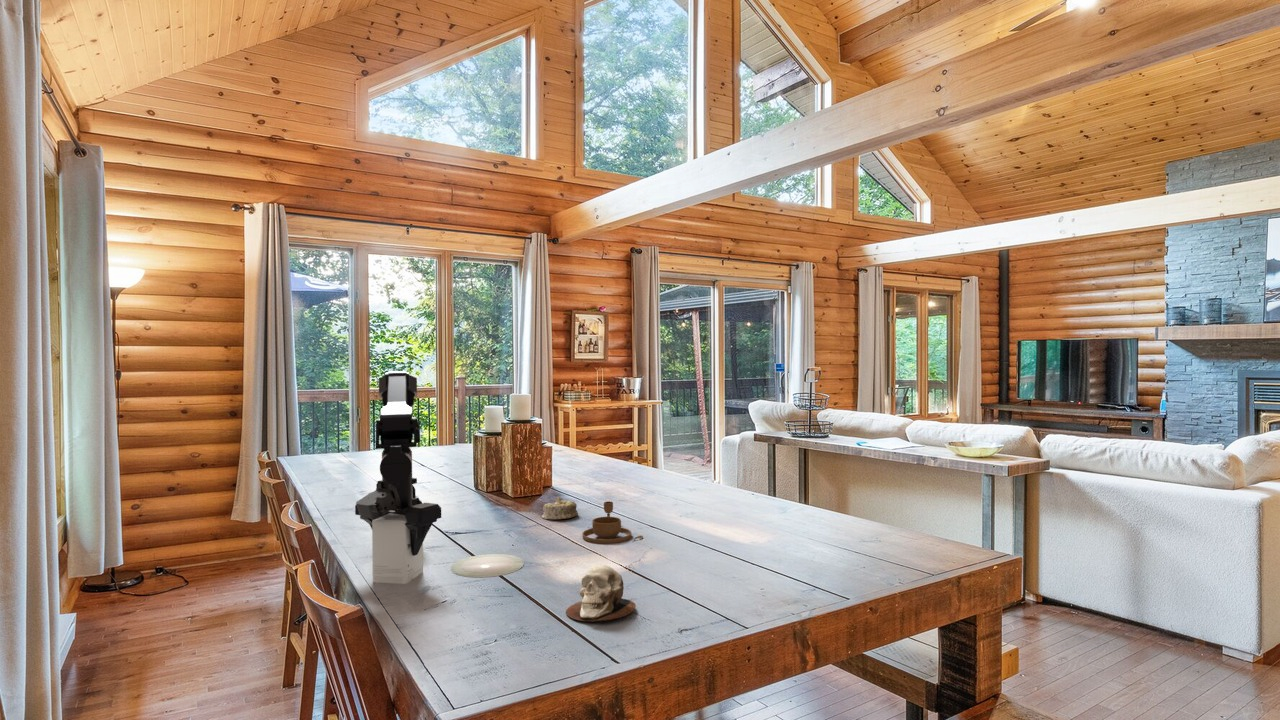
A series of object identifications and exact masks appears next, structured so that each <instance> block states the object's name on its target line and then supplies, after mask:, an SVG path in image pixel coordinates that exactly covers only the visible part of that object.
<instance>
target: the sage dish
mask: <svg viewBox="0 0 1280 720" xmlns="http://www.w3.org/2000/svg"><path fill="white" fill-rule="evenodd" d="M523 565H525V561H524V559H522V558H521V557H519V556H517V555H513V554H506V553H505V554H503V553H502V554H501V553H490V554H489V553H487V554H479V555H472V556H467V557H465V558H461V559H459V560H457V561H456V562H453V564H452V565H451V566H450V570H451V572H452V573H453V574H455V575H457V576H460V577H461V576H462V577H465V578H466V577H467V578H491V577H492V578H493V577H499V576H504V575H505V576H506V575H508V574H512V573H515V572H517V571H519V570H521V569H522V568H523V567H524V566H523ZM521 567H522V568H521ZM520 568H521V569H520Z"/></svg>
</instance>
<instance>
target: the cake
mask: <svg viewBox="0 0 1280 720" xmlns="http://www.w3.org/2000/svg"><path fill="white" fill-rule="evenodd" d="M542 509H543V511H542V512H543V514H542V515H541V518H542V519H545V520H563V519H570V518H573V517H576V516H578V515H579V513H578V510H577V503H576V502H575V501H572V500H563V499H562V498H561V497H559V496H557V498H556V501H555V502H554V503H549V502H548V503H545V504H544V505H543V508H542Z"/></svg>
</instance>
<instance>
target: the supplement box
mask: <svg viewBox="0 0 1280 720" xmlns="http://www.w3.org/2000/svg"><path fill="white" fill-rule="evenodd" d="M405 523H409V522H408V521H407V520H406V518H405V515H400V514H392V513H388V514H386V515H384V516H381V517H379V518H377V519H375V520H372V529H371V532H372V534H371V535H372V537H371V538H372V540H371V541H372V545H371V546H372V582H373V583H381V584H397V585H398V584H399V585H407V584H408V583H410V582H412V580H414V579H415V578H417V577H419V576H420V575H422V574H423V573H424V542H423V543H422V546H421V548H420V550H419V552H418V554H417V555H415V556H413V555H412V551H411V540H410V530H409V529H408V528H407V526H406V525H405Z"/></svg>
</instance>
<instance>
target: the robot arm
mask: <svg viewBox="0 0 1280 720" xmlns="http://www.w3.org/2000/svg"><path fill="white" fill-rule="evenodd" d="M378 397H379V399H382V401H381V402H382V405H383V407H382V408H380V410H379V418H376V420H375V450H381V449H383V450H382V452H381V461H380V464H379V471H380V472H379V473H380V475H381V478H382V479H380V480H377V483H376V488H375V490H373V491H371V492H369V493H368V494H365V496H363V497H362V498H360V499H359V500H357V501H356V502H355V506H354V509H355V510H354V515H356V516H359V518H360V520H363V521H364V522H366V523H367V524H368V525H369V527H370V528H371V530H372V520H375V519H377V518H379V517H381V516H384V515H386V514H388V513H392V514H400V515H405V518H406V520H407V521H408V522H409V523H405V525H406V526H407V528H408V529H409V530H410V540H411V551H412V555H413V556H415V555H417V554H418V552H419V550H420V548H421V546H422V543H423V544H424V542H425V539H426V536H427V534H428V532H429V531H430V529H431V528H432V526H433V524H434V523H436V522H437V521H438V520H439V519H442V506H440V504H438V503H431V502H422V500H421V499H420V496H419V495H416V488H415V486H414V485H415V484H418V478H417V477H413V450H412V449H411V448H418V445H417V444H418V443H420V442H421V436H420V435H421V434H420V433H421V432H420V422H419V421H418V418H417V417H416V416H414V414H413V407H414V405H415V398H418V377H416V376H412V375H411V374H410V372H407V371H388V372H385V375H383V376H381V377H380V378H378ZM413 416H414V417H413Z"/></svg>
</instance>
